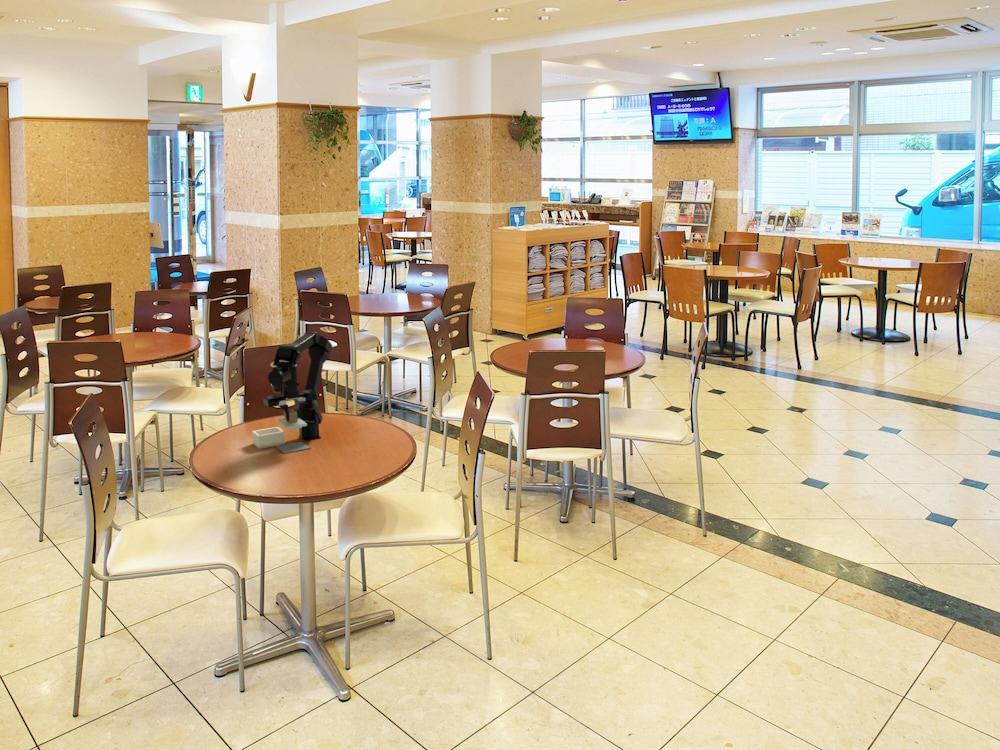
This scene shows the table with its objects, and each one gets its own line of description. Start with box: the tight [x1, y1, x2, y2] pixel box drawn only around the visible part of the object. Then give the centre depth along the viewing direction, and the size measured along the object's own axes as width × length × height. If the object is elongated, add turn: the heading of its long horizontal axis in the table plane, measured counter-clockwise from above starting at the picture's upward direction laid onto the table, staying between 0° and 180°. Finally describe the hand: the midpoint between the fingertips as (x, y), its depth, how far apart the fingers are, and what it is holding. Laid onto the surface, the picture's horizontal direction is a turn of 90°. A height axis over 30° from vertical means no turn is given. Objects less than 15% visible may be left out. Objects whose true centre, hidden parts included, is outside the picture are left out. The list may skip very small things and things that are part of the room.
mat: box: [275, 441, 311, 455], centre depth 322 cm, size 10×8×1 cm
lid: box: [277, 409, 307, 431], centre depth 319 cm, size 10×7×6 cm
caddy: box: [251, 426, 286, 450], centre depth 326 cm, size 10×7×5 cm
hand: (292, 420), depth 320 cm, fingers closed on lid, 3 cm apart
